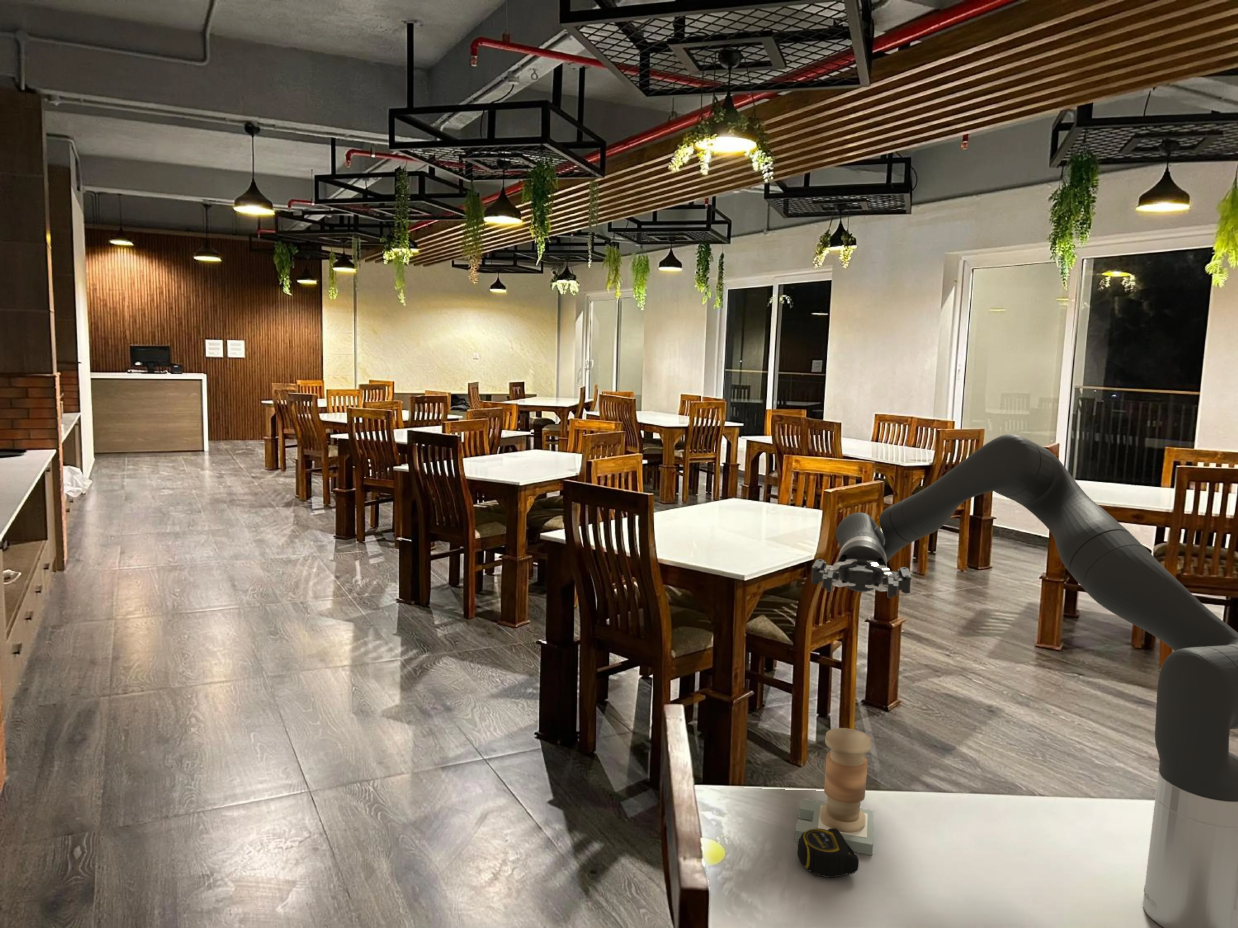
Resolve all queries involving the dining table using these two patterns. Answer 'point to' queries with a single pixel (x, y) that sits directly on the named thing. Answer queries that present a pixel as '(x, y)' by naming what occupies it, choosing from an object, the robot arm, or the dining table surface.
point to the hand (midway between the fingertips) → (859, 588)
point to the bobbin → (845, 779)
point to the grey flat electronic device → (855, 840)
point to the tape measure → (826, 853)
